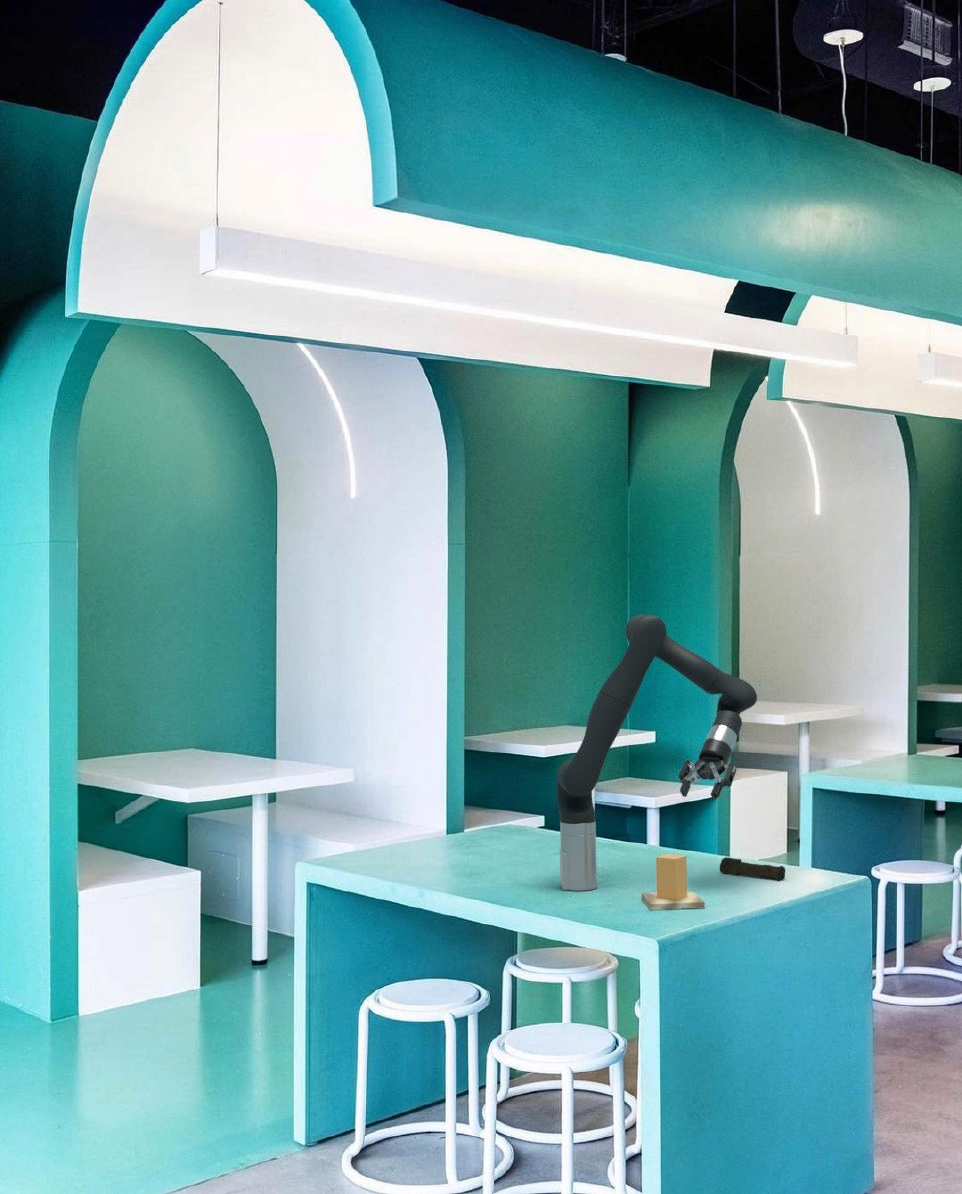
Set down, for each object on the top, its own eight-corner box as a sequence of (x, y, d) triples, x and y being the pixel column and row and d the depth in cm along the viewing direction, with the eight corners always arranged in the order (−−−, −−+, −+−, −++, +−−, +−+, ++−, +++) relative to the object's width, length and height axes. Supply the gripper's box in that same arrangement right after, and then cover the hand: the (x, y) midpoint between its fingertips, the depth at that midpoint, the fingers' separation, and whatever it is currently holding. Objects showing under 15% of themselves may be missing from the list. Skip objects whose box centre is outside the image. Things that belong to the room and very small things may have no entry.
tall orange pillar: (656, 898, 337) (656, 857, 337) (668, 894, 342) (667, 853, 342) (676, 900, 334) (675, 859, 334) (687, 896, 338) (686, 855, 338)
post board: (650, 910, 331) (650, 879, 331) (641, 899, 344) (640, 869, 344) (704, 908, 332) (703, 877, 332) (693, 897, 345) (692, 867, 345)
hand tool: (787, 880, 364) (786, 862, 365) (779, 882, 362) (778, 864, 362) (725, 872, 377) (725, 855, 377) (717, 874, 374) (717, 857, 375)
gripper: (689, 736, 361) (668, 785, 352) (738, 738, 353) (718, 788, 343) (699, 754, 365) (678, 803, 356) (748, 757, 357) (728, 807, 347)
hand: (698, 796), depth 350 cm, fingers open, 8 cm apart
